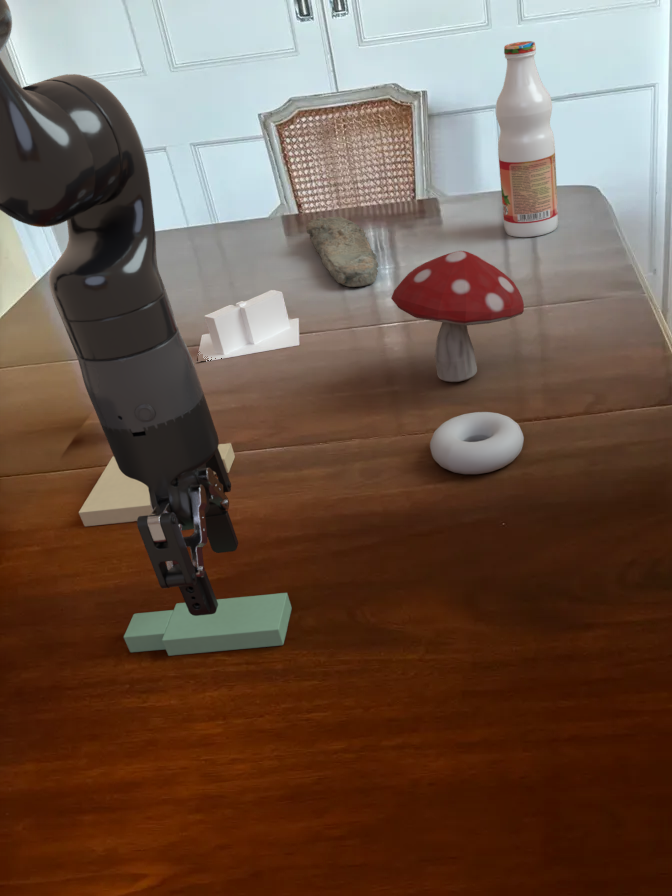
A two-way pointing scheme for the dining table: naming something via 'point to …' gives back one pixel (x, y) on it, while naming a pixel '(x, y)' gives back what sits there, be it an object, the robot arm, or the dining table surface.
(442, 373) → the decorative mushroom
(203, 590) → the robot arm
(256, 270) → the dining table surface
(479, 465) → the donut
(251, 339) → the napkin holder
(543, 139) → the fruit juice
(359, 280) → the elongated rock
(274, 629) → the green tabbed block
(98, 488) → the sand pad
